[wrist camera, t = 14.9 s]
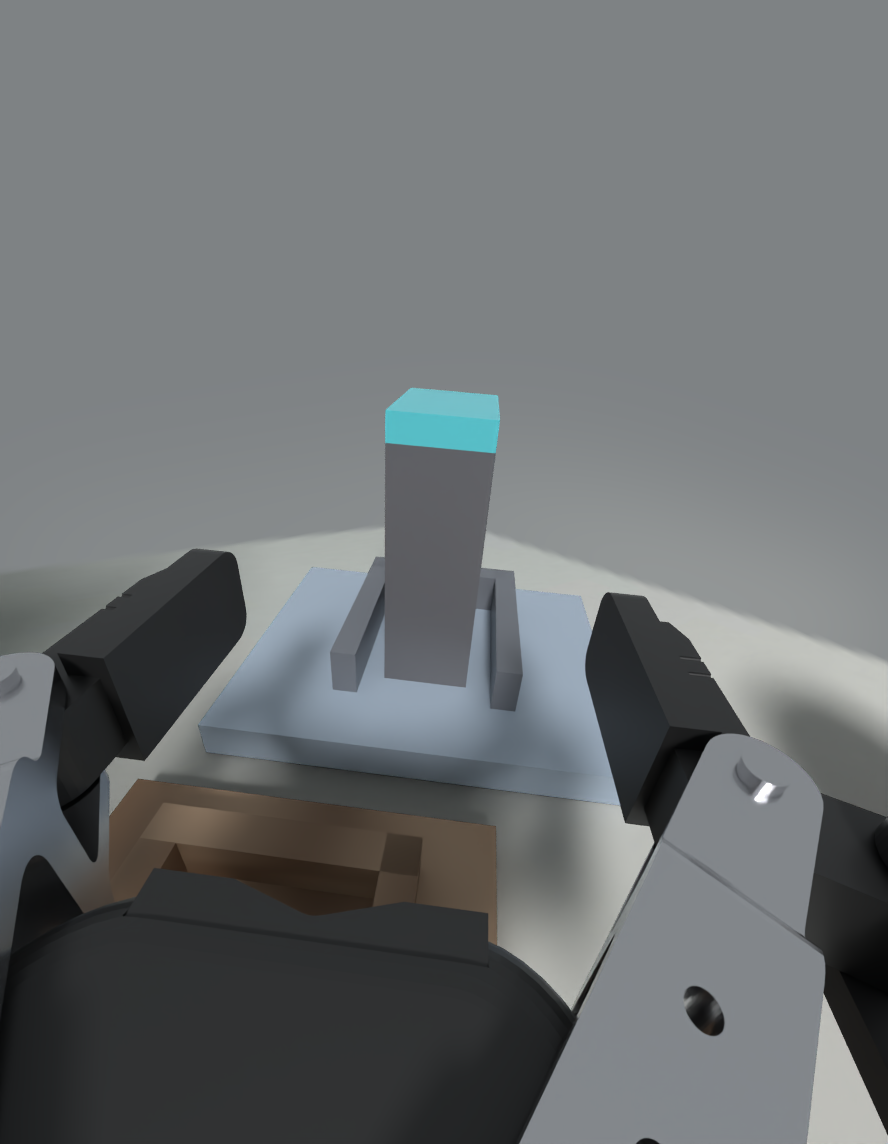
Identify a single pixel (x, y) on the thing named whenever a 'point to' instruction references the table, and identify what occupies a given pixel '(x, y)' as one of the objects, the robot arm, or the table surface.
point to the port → (421, 693)
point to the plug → (435, 529)
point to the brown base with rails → (302, 850)
